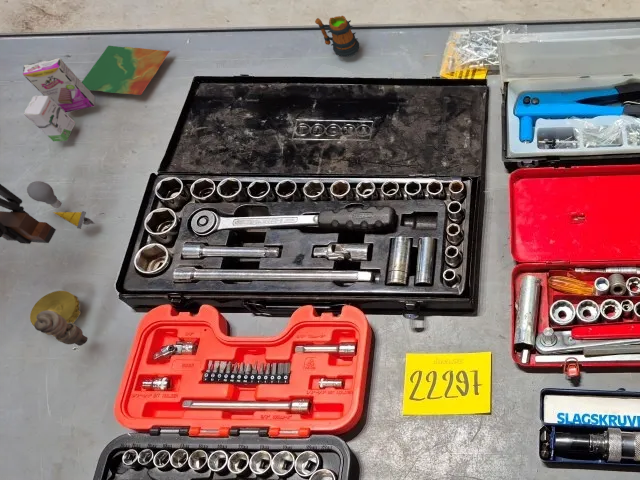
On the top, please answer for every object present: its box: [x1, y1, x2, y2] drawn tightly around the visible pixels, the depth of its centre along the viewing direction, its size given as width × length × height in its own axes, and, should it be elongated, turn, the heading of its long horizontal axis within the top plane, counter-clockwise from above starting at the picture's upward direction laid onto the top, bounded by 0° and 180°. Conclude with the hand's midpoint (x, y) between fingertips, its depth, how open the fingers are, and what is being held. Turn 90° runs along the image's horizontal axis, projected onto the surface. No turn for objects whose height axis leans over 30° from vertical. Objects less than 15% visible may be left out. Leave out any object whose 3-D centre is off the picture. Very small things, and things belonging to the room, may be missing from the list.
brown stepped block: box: [0, 210, 57, 244], centre depth 143 cm, size 12×4×8 cm, turn 85°
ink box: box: [23, 95, 76, 142], centre depth 174 cm, size 9×5×12 cm, turn 1°
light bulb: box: [26, 180, 63, 209], centre depth 161 cm, size 6×6×10 cm
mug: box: [314, 15, 361, 58], centre depth 190 cm, size 13×10×12 cm
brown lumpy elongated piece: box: [33, 310, 88, 347], centre depth 138 cm, size 6×6×15 cm
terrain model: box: [81, 45, 170, 96], centre depth 192 cm, size 25×22×1 cm
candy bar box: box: [22, 57, 96, 114], centre depth 177 cm, size 11×5×16 cm, turn 108°
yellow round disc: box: [29, 290, 81, 327], centre depth 148 cm, size 12×12×2 cm
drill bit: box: [52, 210, 96, 230], centre depth 159 cm, size 5×5×10 cm
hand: (30, 234), depth 146 cm, fingers closed on brown stepped block, 4 cm apart
